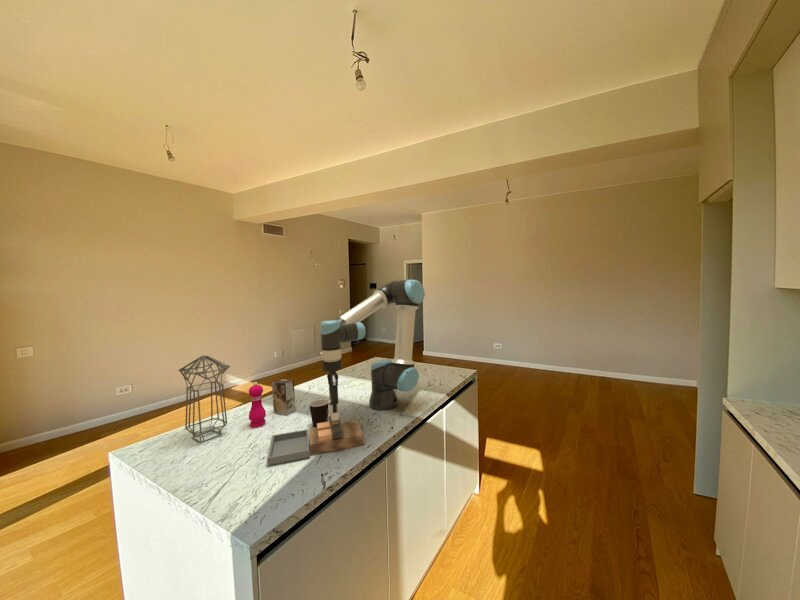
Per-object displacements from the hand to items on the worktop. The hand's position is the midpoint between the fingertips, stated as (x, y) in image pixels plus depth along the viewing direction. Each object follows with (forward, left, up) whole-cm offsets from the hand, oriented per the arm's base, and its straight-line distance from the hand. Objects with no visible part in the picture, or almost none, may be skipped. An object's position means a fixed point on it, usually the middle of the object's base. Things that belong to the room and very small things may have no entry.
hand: (334, 418), depth 121 cm
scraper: (0, 0, -4) cm, 4 cm away
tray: (+17, 0, -10) cm, 20 cm away
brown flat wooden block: (0, 0, -10) cm, 10 cm away
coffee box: (+21, -41, -10) cm, 47 cm away
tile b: (+4, +3, -6) cm, 8 cm away
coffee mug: (+4, -20, -10) cm, 23 cm away
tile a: (+4, -4, -6) cm, 8 cm away
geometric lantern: (+51, -27, -10) cm, 59 cm away
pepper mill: (+32, -30, -10) cm, 45 cm away
